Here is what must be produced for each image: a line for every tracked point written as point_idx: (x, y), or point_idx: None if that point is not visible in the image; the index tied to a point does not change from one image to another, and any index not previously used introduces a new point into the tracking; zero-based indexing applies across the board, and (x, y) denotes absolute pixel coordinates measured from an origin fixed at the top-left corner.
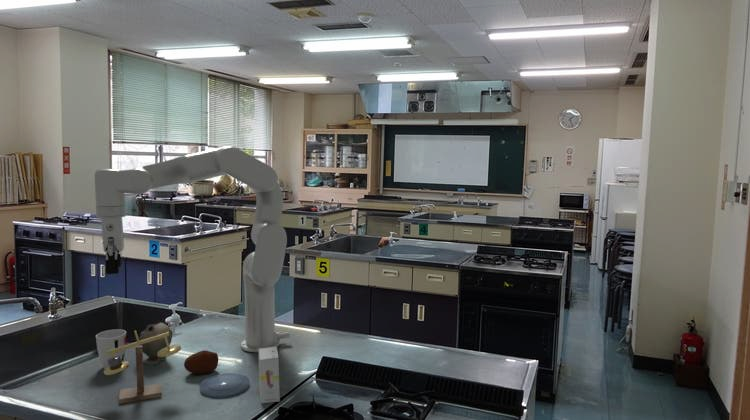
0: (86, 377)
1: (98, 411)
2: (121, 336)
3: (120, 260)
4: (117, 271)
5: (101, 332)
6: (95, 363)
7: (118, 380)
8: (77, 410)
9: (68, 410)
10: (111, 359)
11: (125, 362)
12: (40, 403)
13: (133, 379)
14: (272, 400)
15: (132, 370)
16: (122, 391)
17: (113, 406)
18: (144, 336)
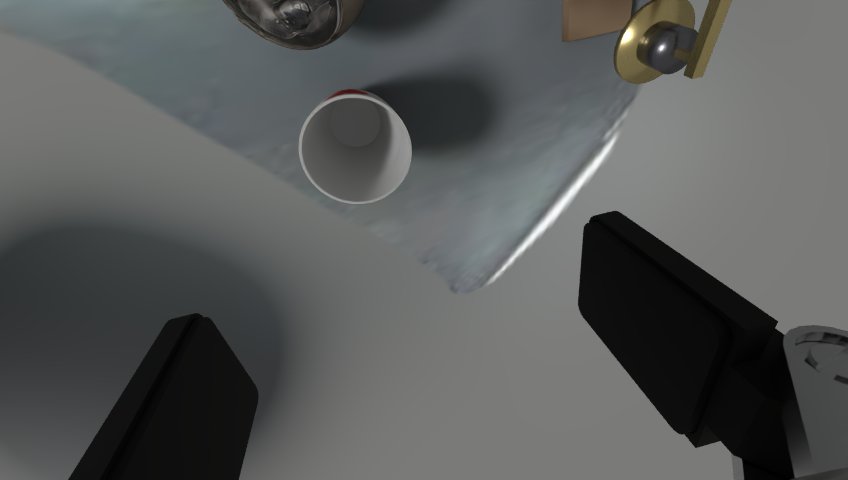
0: (425, 169)
1: None
2: (384, 103)
3: (160, 375)
4: (623, 227)
5: (332, 195)
6: None
7: (467, 73)
8: (610, 124)
9: (601, 144)
10: (677, 59)
11: (648, 14)
12: (543, 213)
13: (472, 25)
14: None
15: (398, 47)
16: (584, 30)
17: None
18: (352, 2)
